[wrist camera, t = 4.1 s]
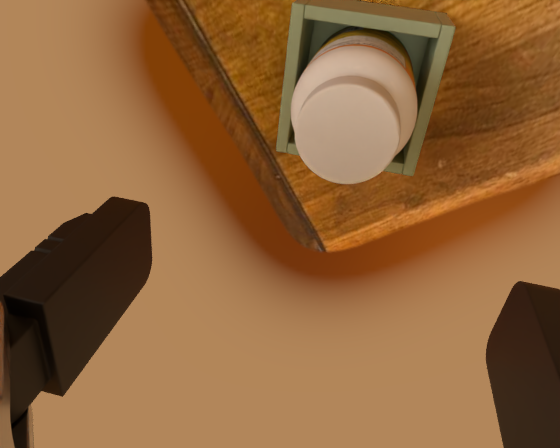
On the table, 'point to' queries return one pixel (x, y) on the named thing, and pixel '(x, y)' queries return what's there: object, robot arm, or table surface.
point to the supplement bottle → (354, 105)
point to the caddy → (398, 20)
